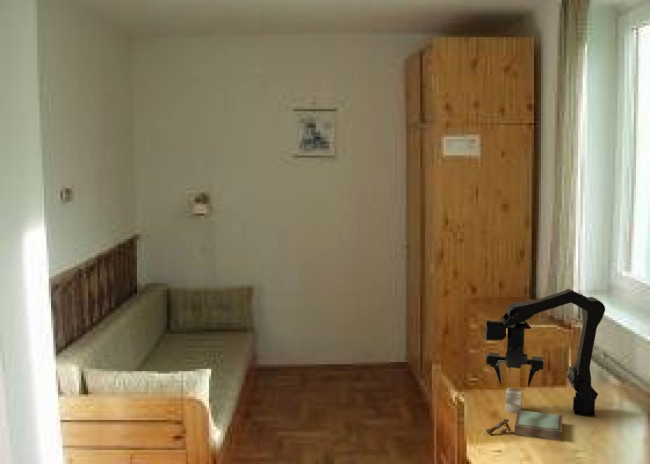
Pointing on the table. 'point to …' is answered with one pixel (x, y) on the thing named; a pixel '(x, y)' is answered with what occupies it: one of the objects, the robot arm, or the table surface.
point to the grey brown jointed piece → (499, 427)
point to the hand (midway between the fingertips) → (514, 385)
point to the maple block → (513, 400)
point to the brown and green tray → (539, 425)
